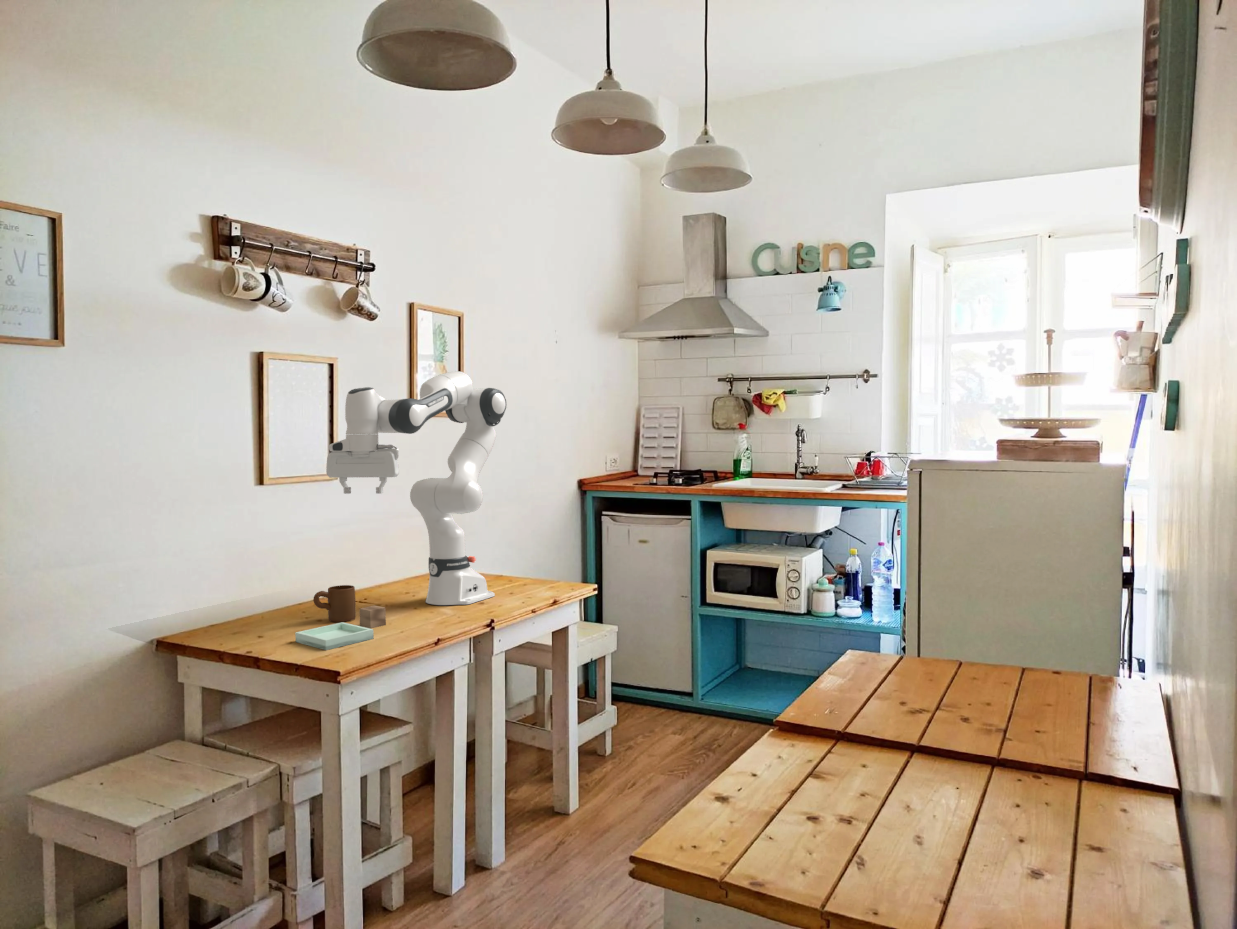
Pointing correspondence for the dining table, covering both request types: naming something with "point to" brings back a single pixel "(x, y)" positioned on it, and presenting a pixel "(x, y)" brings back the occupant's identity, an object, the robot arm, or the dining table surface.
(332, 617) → the mug
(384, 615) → the block
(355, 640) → the tray
